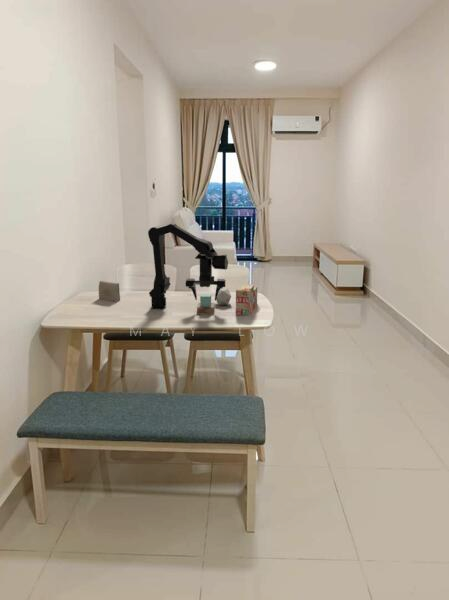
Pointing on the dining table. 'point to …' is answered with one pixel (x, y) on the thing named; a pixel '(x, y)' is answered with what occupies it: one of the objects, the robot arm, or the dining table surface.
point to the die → (223, 297)
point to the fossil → (109, 291)
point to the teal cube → (205, 300)
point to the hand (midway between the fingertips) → (205, 300)
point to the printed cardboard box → (246, 299)
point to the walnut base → (206, 309)
